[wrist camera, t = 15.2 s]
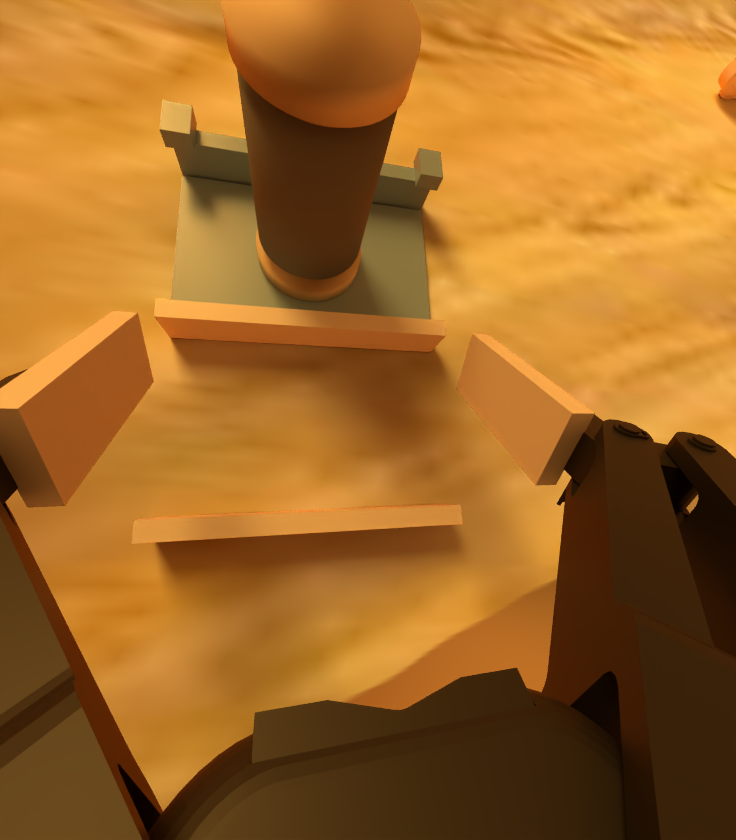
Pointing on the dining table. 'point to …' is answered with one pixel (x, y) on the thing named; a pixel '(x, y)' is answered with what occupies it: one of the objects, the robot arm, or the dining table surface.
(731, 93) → the cable organizer
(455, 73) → the dining table surface
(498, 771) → the robot arm
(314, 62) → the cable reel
